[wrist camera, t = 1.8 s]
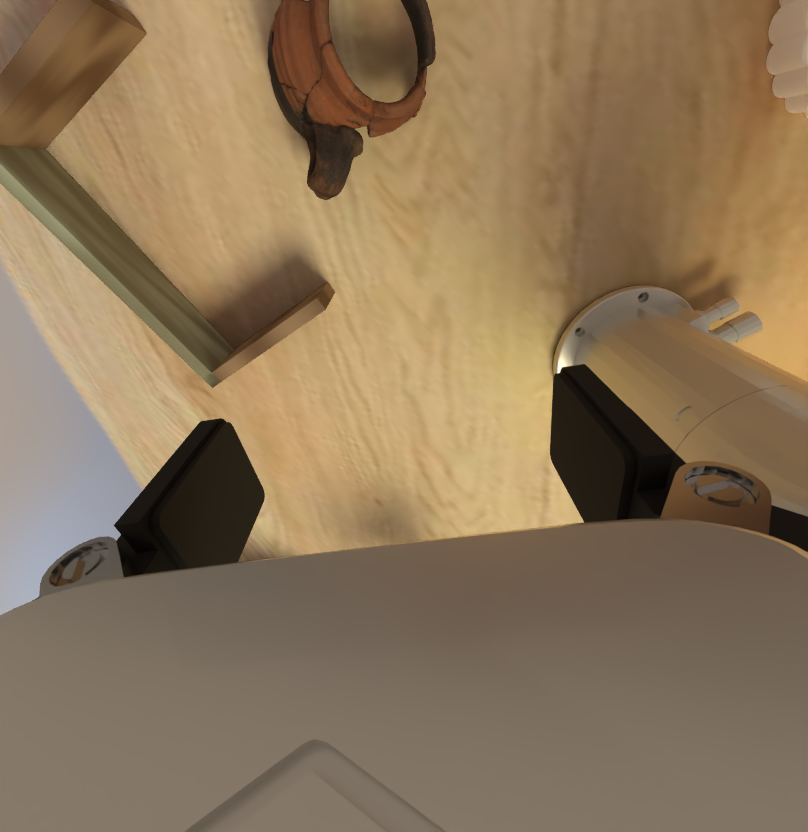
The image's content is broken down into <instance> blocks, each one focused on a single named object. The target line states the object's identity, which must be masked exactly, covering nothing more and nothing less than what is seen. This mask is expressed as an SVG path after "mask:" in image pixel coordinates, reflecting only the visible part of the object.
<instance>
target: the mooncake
mask: <svg viewBox="0 0 808 832" xmlns="http://www.w3.org/2000/svg"><path fill="white" fill-rule="evenodd" d="M779 4H780V7H781V8H780V9H779V10H778V11H777V13H776V14H775V15H774V17H773V19H772V21H771V23H770V26H769V30H768V37H769V41H770V42H771V44H773V46H772V47H771V49H770V51H769V53H768V55H767V59H766V68H767V71H768V72H769V73H770V74H772V75H775V76H774V79H773V82H772V92H773V94H774V95H775V96H776V97H778V98H785V108H786V110H787V111H788V112H790V113H801V112H803V113H804V116H805V117H806V118H807V119H808V0H779Z"/></svg>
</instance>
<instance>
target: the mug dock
mask: <svg viewBox="0 0 808 832" xmlns="http://www.w3.org/2000/svg"><path fill="white" fill-rule="evenodd" d="M146 34H147V33H146V32H145V30H144V29H143V28H142V26H141V25H140V24H139V22H138V21H137V19H136V18H135V17H134V15H133V14H131V13H130V12H128V11H126V10H125V9H123V8H122V7H120V6H118V5H117V4H115V3H114V2H112V1H110V0H57V1H56V3H55V4H54V5H53V7H52V8H51V9H50V11H49V12H48V13H47V15H46V16H45V17H44V18H43V20H42V21H41V22H40V24H39V25H38V26H37V28H36V29H35V30H34V31H33V33H32V34H31V35H30V37H29V38H28V39H27V41H26V42H25V43H24V45H23V46H22V47H21V48H20V50H19V51H18V52H17V54H16V55H15V56H14V58H13V59H12V60H11V61H10V63H9V64H8V65H7V67H6V68H5V69H4V71H3V72H2V73H1V75H0V183H1V184H2V185H3V186H4V187H5V188H6V189H7V190H8V191H9V192H10V193H11V194H12V195H13V196H14V197H15V198H16V199H17V200H18V201H19V202H20V203H22V204H23V205H24V206H25V207H26V208H27V209H28V210H29V211H30V212H31V213H32V214H33V215H34V216H35V217H36V218H37V219H38V220H39V221H40V222H41V223H42V224H43V225H44V226H45V227H46V228H47V229H48V230H49V231H50V232H52V233H53V234H54V235H55V236H56V237H57V238H58V239H59V240H60V241H61V242H62V243H63V244H64V245H65V246H66V247H67V248H68V249H69V250H70V251H71V252H72V253H73V254H74V255H75V256H76V257H77V258H78V259H79V260H81V261H82V262H83V263H84V264H85V265H86V266H87V267H88V268H89V269H90V270H91V271H92V272H93V273H94V274H95V275H96V276H97V277H98V278H99V279H100V280H101V281H102V282H103V283H104V284H105V285H106V286H107V287H108V288H110V289H111V290H112V291H113V292H114V293H115V294H116V295H117V296H118V297H119V298H120V299H121V300H122V301H123V302H124V303H125V304H126V305H127V306H128V307H129V308H130V309H131V310H132V311H133V312H134V313H135V314H136V315H137V316H138V317H140V318H141V319H142V320H143V321H144V322H145V323H146V324H147V325H148V326H149V327H150V328H151V329H152V330H153V331H154V332H155V333H156V334H157V335H158V336H159V337H160V338H161V339H162V340H163V341H164V342H165V343H166V344H167V345H169V346H170V347H171V348H172V349H173V350H174V351H175V352H176V353H177V354H178V355H179V356H180V357H181V358H182V359H183V360H184V361H185V362H186V363H187V364H188V365H189V366H190V367H191V368H192V369H193V370H194V371H195V372H196V373H198V374H199V375H200V376H201V377H202V378H203V379H204V380H205V381H206V382H207V383H208V384H209V385H210V386H211V387H212V388H213V387H214V386H216V385H217V384H219V383H220V382H222V381H223V380H224V379H226V378H227V377H229V376H230V375H232V374H233V373H235V372H236V371H237V370H239V369H240V368H242V367H243V366H245V365H246V364H248V363H249V362H250V361H252V360H253V359H255V358H256V357H258V356H259V355H261V354H262V353H263V352H265V351H266V350H268V349H269V348H271V347H272V346H274V345H275V344H276V343H278V342H279V341H281V340H282V339H284V338H285V337H287V336H288V335H289V334H291V333H292V332H294V331H295V330H297V329H298V328H300V327H301V326H302V325H304V324H305V323H307V322H308V321H310V320H311V319H313V318H314V317H315V316H317V315H318V314H320V313H321V312H323V311H324V310H326V308H327V306H328V304H329V302H330V301H331V299H332V297H333V295H334V293H335V292H334V290H333V289H332V288H331V286H330V285H329V283H328V282H327V283H326V284H325V285H323V286H322V287H320V288H319V289H318V290H316V291H315V292H313V293H312V294H311V295H309V296H308V297H306V298H305V299H304V300H302V301H301V302H299V303H298V304H297V305H295V306H294V307H292V308H291V309H290V310H288V311H287V312H285V313H284V314H283V315H281V316H280V317H278V318H277V319H276V320H274V321H273V322H272V323H270V324H269V325H267V326H266V327H265V328H263V329H262V330H260V331H259V332H258V333H256V334H255V335H253V336H252V337H251V338H249V339H248V340H246V341H245V342H244V343H242V344H241V345H239V346H238V347H237V348H235V349H233V348H232V347H231V346H230V344H229V343H228V342H227V341H226V340H225V339H224V338H223V337H222V336H221V335H220V334H219V333H218V332H217V331H216V330H215V329H214V327H213V326H212V325H211V324H210V323H209V322H208V321H207V320H206V319H205V318H204V317H203V316H202V315H201V314H200V313H199V312H198V310H197V309H196V308H195V307H194V306H193V305H192V304H191V303H190V302H189V301H188V300H187V299H186V298H185V297H184V296H183V295H182V293H181V292H180V291H179V290H178V289H177V288H176V287H175V286H174V285H173V284H172V283H171V282H170V281H169V280H168V279H167V278H166V277H165V275H164V274H163V273H162V272H161V271H160V270H159V269H158V268H157V267H156V266H155V265H154V264H153V263H152V262H151V261H150V260H149V258H148V257H147V256H146V255H145V254H144V253H143V252H142V251H141V250H140V249H139V248H138V247H137V246H136V245H135V244H134V243H133V241H132V240H131V239H130V238H129V237H128V236H127V235H126V234H125V233H124V232H123V231H122V230H121V229H120V228H119V227H118V226H117V225H116V223H115V222H114V221H113V220H112V219H111V218H110V217H109V216H108V215H107V214H106V213H105V212H104V211H103V210H102V209H101V208H100V206H99V205H98V204H97V203H96V202H95V201H94V200H93V199H92V198H91V197H90V196H89V195H88V194H87V193H86V192H85V191H84V189H83V188H82V187H81V186H80V185H79V184H78V183H77V182H76V181H75V180H74V179H73V178H72V177H71V176H70V175H69V174H68V173H67V171H66V170H65V169H64V168H63V167H62V166H61V165H60V164H59V163H58V162H57V161H56V160H55V159H54V158H53V157H52V156H51V154H50V153H49V152H48V151H47V150H46V148H47V146H48V145H49V144H50V143H51V142H52V141H53V140H54V138H55V137H56V136H57V135H58V134H59V133H60V132H61V131H62V129H63V128H64V127H65V126H66V125H67V124H68V123H69V121H70V120H71V119H72V118H73V117H74V116H75V115H76V113H77V112H78V111H79V110H80V109H81V108H82V107H83V106H84V104H85V103H86V102H87V101H88V100H89V99H90V98H91V96H92V95H93V94H94V93H95V92H96V91H97V90H98V88H99V87H100V86H101V85H102V84H103V83H104V82H105V80H106V79H107V78H108V77H109V76H110V75H111V74H112V73H113V71H114V70H115V69H116V68H117V67H118V66H119V65H120V63H121V62H122V61H123V60H124V59H125V58H126V57H127V55H128V54H129V53H130V52H131V51H132V50H133V49H134V48H135V46H136V45H137V44H138V43H139V42H140V41H141V40H142V38H143V37H144V36H145V35H146Z"/></svg>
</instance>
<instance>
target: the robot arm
mask: <svg viewBox="0 0 808 832" xmlns="http://www.w3.org/2000/svg"><path fill="white" fill-rule="evenodd" d="M639 295H640V296H639ZM738 310H739V304H738V302H737V301H736V299H734V298H733V297H727V298H725V299H723V300H721V301H719V302H717V303H715V304H713V305H712V306H711V307H709V308H707V309H705V310H703V311H700V310H696V311H694V310H693V308H692V307H691V306H690V305H689V303H688V302H687V301H686V300H685V299H684V298H682V297H681V296H679V295H678V294H676V293H674V292H672V291H669V290H667V289H664V288H661V287H656V286H651V285H637V286H631V287H626V288H621V289H619V290H616V291H613V292H611V293H608V294H606V295H604V296H603V297H601V298H599V299H597V300H595V301H594V302H592V303H591V304H590V305H589V306H587V307H586V308H585V309H583V310H582V311H581V312H580V313H579V314H578V315H577V316H576V317H575V318H574V319H573V320H572V321H571V323H570V324H569V326H568V327H567V329H566V330H565V331H564V333H563V335H562V337H561V339H560V341H559V343H558V345H557V348H556V352H555V355H554V362H553V373H554V379H553V400H552V421H551V443H550V455H551V460H552V463H553V465H554V467H555V469H556V470H557V472H558V474H559V476H560V478H561V480H562V482H563V484H564V485H565V487H566V489H567V491H568V493H569V495H570V497H571V498H572V500H573V502H574V504H575V506H576V508H577V510H578V511H579V513H580V515H581V517H582V519H583V521H584V523H576V524H566V525H557V526H548V527H539V528H530V529H521V530H512V531H503V532H495V533H486V534H477V535H468V536H459V537H450V538H441V539H433V540H424V541H416V542H407V543H398V544H390V545H381V546H373V547H364V548H355V549H347V550H339V551H330V552H322V553H313V554H305V555H296V556H288V557H280V558H271V559H263V560H254V561H246V562H238V560H239V558H240V556H241V553H242V551H243V549H244V546H245V544H246V542H247V539H248V537H249V535H250V532H251V530H252V528H253V525H254V523H255V521H256V518H257V516H258V514H259V511H260V509H261V507H262V504H263V502H264V497H265V494H264V490H263V487H262V485H261V483H260V481H259V479H258V477H257V475H256V473H255V471H254V469H253V467H252V464H251V462H250V460H249V458H248V456H247V454H246V452H245V450H244V448H243V446H242V444H241V442H240V440H239V438H238V436H237V433H236V431H235V429H234V427H233V426H232V424H231V423H229V422H226V421H225V420H224V419H221V418H220V419H214V420H207V421H201V422H200V423H199V424H198V425H197V426H196V427H195V429H194V430H193V431H192V432H191V433H190V435H189V436H188V437H187V438H186V439H185V441H184V442H183V443H182V444H181V445H180V447H179V448H178V449H177V450H176V451H175V453H174V454H173V455H172V456H171V457H170V459H169V460H168V461H167V462H166V463H165V465H164V466H163V467H162V468H161V469H160V471H159V472H158V473H157V474H156V475H155V477H154V478H153V479H152V480H151V481H150V483H149V484H148V485H147V486H146V487H145V489H144V490H143V491H142V492H141V493H140V495H139V496H138V497H137V498H136V499H135V501H134V502H133V503H132V504H131V506H130V507H129V508H128V509H127V510H126V511H125V513H124V514H123V515H122V516H121V517H120V519H119V520H118V521H117V522H116V523H115V525H114V526H115V527H116V529H117V530H118V531H119V532H120V533H121V536H120V537H119V538H118V540H117V541H116V540H115V539H114V538H111V537H98V538H95V539H91V540H89V541H86V542H84V543H82V544H79V545H78V546H76V547H74V548H73V549H71V550H69V551H68V552H66V553H65V554H64V555H63V556H62V557H60V558H59V559H57V560H56V561H55V562H54V563H53V564H52V565H51V566H50V567H49V568H48V570H47V571H46V573H45V574H44V576H43V577H42V580H41V583H40V595H39V597H38V598H37V599H35V600H33V601H31V602H29V603H26V604H24V605H22V606H19V607H17V608H14V609H13V610H11V611H8V612H6V613H4V614H3V615H0V832H808V382H806V381H804V380H802V379H800V378H798V377H796V376H794V375H792V374H790V373H788V372H786V371H784V370H782V369H780V368H778V367H776V366H774V365H772V364H770V363H768V362H766V361H764V360H762V359H760V358H758V357H756V356H754V355H752V354H750V353H748V352H746V351H744V350H742V349H740V348H738V347H736V346H734V345H732V343H734V342H739V341H741V340H743V339H745V338H747V337H749V336H752V335H754V334H756V333H758V332H760V331H761V330H762V323H761V320H760V319H759V318H758V316H757V315H756V314H754V313H752V312H745V313H743V314H741V315H739V316H737V317H735V318H733V319H731V320H729V321H727V322H725V323H724V324H723V325H722V326H719V327H717V328H715V329H713V330H709V329H708V328H709V327H710V324H711V323H713V322H715V321H717V320H719V319H720V320H721V319H723V318H725V317H727V316H729V315H731V314H733V313H735V312H737V311H738ZM577 328H578V330H577V331H576V329H577Z"/></svg>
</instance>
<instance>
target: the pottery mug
mask: <svg viewBox="0 0 808 832" xmlns="http://www.w3.org/2000/svg"><path fill="white" fill-rule="evenodd" d="M401 2H402V4H403V6H404V7H405V9H406V12H407V14H408V16H409V18H410V21H411V24H412V27H413V31H414V34H415V39H416V45H417V54H418V70H417V77H416V81H415V85H414V86H413V87H412V88H411V90H410V91H409V92H408V94H407V95H406V96H405V97H404V98H403V99H401V100H400V101H397V102H393V103H384V102H379V101H373V100H372V99H371V98H369V97H368V96H366V95H365V94H364V93H363V92H362V91H361V90H360V89H359V88H358V87H357V86H356V85H355V84H354V83H353V82H352V80H351V79H350V78H349V76H348V75H347V73H346V71H345V70H344V68H343V66H342V64H341V62H340V60H339V58H338V56H337V53H336V50H335V48H334V45H333V42H332V37H331V32H330V26H329V0H309V1H304V0H282V1H281V5H280V6H279V8H278V10H277V11H276V13H275V20H274V22H273V25H272V27H271V30H270V36H269V43H268V67H269V71H270V75H271V82H272V86H273V90H274V94H275V97H276V99H277V102H278V104H279V106H280V108H281V110H282V112H283V114H284V116H285V117H286V119H287V121H288V122H289V123H290V124H291V126H292V127H293V128H294V129H295V130H296V131H297V132H298V133H299V134H300V135H301V136H302V137H303V138H304V139H305V140H306V141H307V144H308V148H309V151H310V165H309V170H308V177H307V184H308V186H309V188H310V189H311V190H313V191H314V192H315V194H316V196H317V197H319V198H321V199H324V200H328V199H330V198H332V197H335V196H337V195H338V194H339V193H340V192H341V190H342V189H343V187H344V185H345V182H346V179H347V177H348V174H349V171H350V168H351V163H352V160H353V158H354V157H356V156H358V155H360V154H361V153H362V151H363V139H362V136H361V135H360V133H359V132H358V131H356V130H354V129H355V128H360V127H363V126H367V129H368V135H369V137H376V136H380V135H383V134H385V133H388V132H392V131H394V130H395V129H397V128H398V127H400V126H401V125H403V124H404V123H406V122H407V121H408V120H409V119H410V118H411V117H415V116H416V115H417V112H418V111H419V110H420V108H421V105H422V101H423V99H424V97H425V95H426V91H425V84H426V75H427V66H429V65H431V64H432V63H433V61H434V60H435V54H436V52H435V37H434V32H433V25H432V19H431V15H430V11H429V8H428V4H427V2H426V0H401ZM306 109H307V110H306ZM306 111H307V112H308V114H309V116H310V118H311V119H312V121H313V122H314V123H312V122H310V121H308V120H307V118H306Z"/></svg>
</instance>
